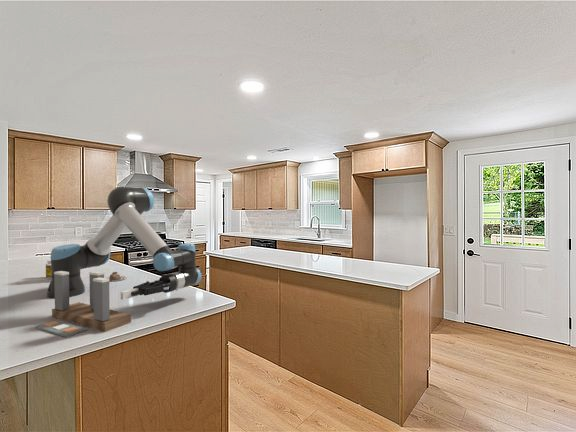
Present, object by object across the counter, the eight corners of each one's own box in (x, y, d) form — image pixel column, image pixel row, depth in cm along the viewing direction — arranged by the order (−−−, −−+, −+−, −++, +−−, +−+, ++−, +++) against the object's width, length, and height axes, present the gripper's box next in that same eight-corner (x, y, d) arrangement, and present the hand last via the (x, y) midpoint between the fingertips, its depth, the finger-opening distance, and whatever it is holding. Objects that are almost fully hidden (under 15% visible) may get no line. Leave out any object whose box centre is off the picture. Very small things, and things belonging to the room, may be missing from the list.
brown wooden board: (52, 316, 125) (51, 309, 125) (78, 309, 134) (78, 302, 134) (105, 331, 111) (105, 323, 111) (131, 322, 120) (130, 314, 120)
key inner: (61, 306, 127) (61, 270, 127) (69, 308, 125) (69, 272, 124) (54, 308, 125) (54, 272, 124) (62, 310, 123) (61, 273, 122)
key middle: (96, 307, 127) (95, 271, 127) (104, 309, 125) (104, 272, 124) (89, 308, 125) (89, 272, 124) (98, 311, 123) (97, 273, 122)
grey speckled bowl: (100, 280, 188) (100, 272, 188) (122, 276, 197) (122, 269, 197) (107, 283, 180) (107, 275, 180) (129, 280, 189) (129, 272, 188)
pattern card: (35, 327, 114) (35, 325, 114) (57, 321, 121) (57, 319, 121) (65, 337, 106) (65, 334, 106) (86, 330, 112) (86, 327, 112)
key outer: (100, 316, 116) (100, 277, 116) (109, 319, 114) (109, 278, 114) (93, 318, 114) (92, 278, 114) (102, 321, 112) (102, 280, 111)
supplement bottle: (43, 278, 189) (43, 261, 188) (48, 276, 194) (48, 259, 194) (54, 278, 190) (54, 260, 190) (59, 276, 195) (58, 259, 195)
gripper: (182, 292, 139) (133, 308, 118) (161, 289, 145) (110, 303, 124) (182, 275, 138) (133, 288, 118) (160, 272, 144) (110, 283, 124)
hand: (121, 295), depth 121 cm, fingers closed
